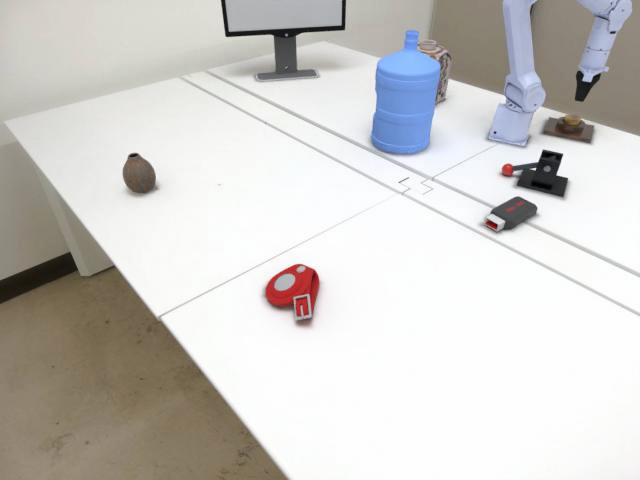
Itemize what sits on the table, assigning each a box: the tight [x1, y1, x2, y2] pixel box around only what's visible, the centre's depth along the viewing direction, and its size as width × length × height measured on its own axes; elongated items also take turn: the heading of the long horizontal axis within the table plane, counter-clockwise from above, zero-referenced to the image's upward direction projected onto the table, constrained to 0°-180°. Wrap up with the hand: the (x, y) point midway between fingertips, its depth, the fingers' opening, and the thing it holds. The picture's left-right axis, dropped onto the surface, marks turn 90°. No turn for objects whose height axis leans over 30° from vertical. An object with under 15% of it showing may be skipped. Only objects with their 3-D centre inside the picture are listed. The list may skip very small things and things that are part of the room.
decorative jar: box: [417, 39, 453, 105], centre depth 141 cm, size 12×12×18 cm
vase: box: [122, 152, 157, 195], centre depth 103 cm, size 7×7×9 cm
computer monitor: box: [220, 0, 347, 83], centre depth 153 cm, size 41×8×40 cm, turn 102°
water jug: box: [370, 29, 441, 155], centre depth 115 cm, size 16×16×28 cm
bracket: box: [516, 149, 569, 198], centre depth 104 cm, size 10×8×7 cm
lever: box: [501, 155, 556, 176], centre depth 106 cm, size 12×3×3 cm, turn 61°
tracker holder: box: [265, 263, 320, 321], centre depth 77 cm, size 12×4×10 cm
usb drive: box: [483, 195, 538, 232], centre depth 95 cm, size 5×12×3 cm, turn 126°
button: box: [563, 113, 582, 125], centre depth 126 cm, size 4×4×2 cm
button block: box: [542, 116, 595, 144], centre depth 127 cm, size 12×10×3 cm
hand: (579, 100), depth 123 cm, fingers closed
